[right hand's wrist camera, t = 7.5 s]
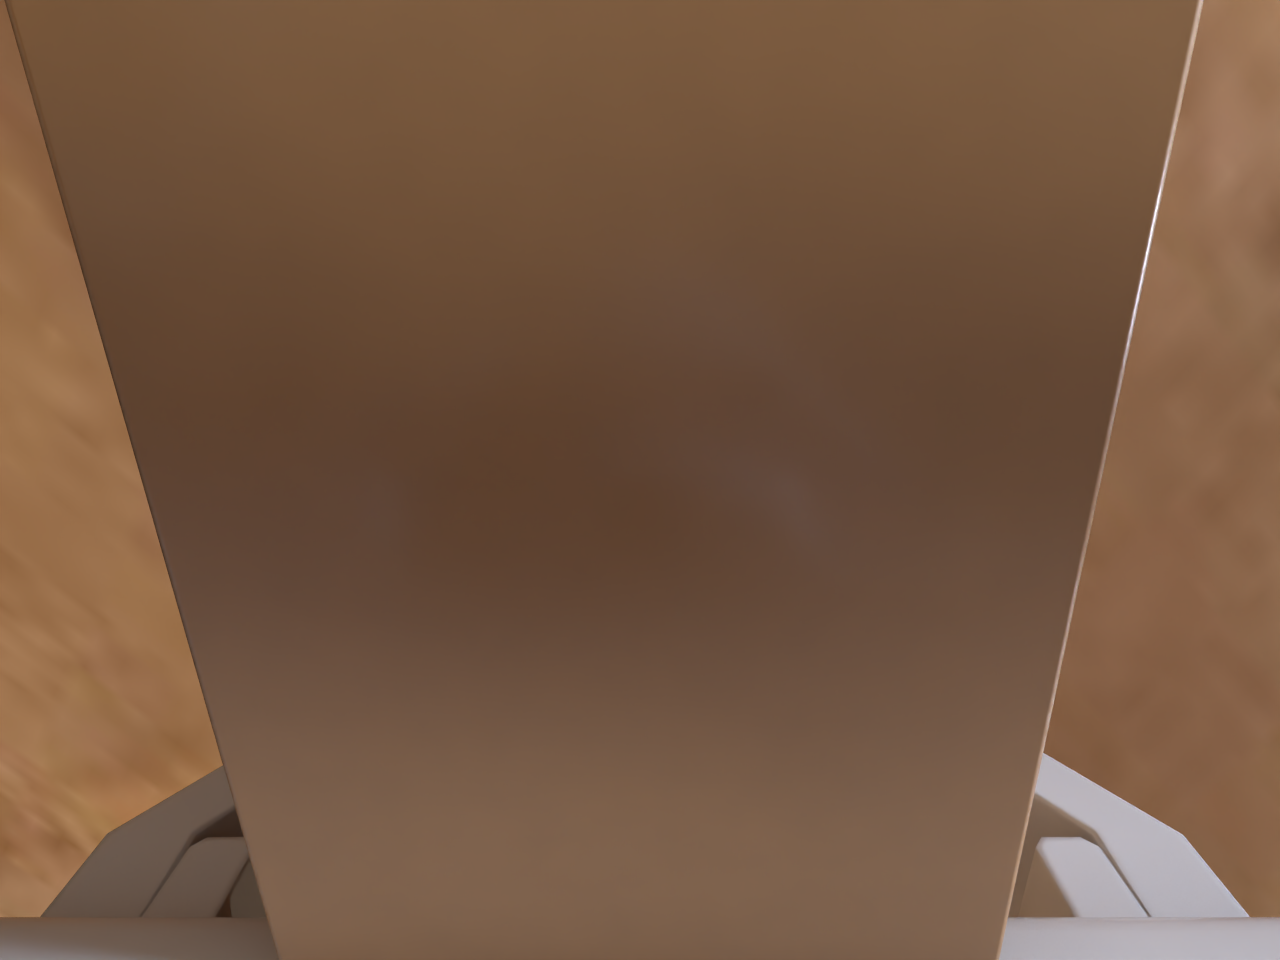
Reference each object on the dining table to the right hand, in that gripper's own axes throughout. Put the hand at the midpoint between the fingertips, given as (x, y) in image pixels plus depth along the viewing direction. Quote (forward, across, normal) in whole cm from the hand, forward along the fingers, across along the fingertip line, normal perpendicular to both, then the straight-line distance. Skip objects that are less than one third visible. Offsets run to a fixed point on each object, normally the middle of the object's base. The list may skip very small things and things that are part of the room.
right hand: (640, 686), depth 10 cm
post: (+3, +1, -29) cm, 29 cm away
